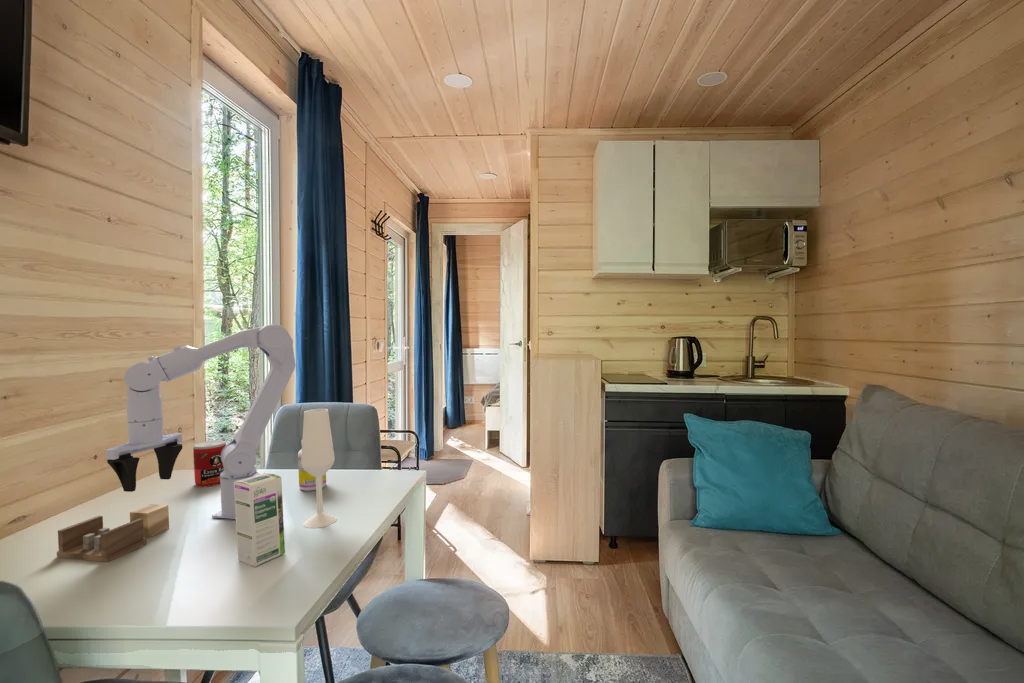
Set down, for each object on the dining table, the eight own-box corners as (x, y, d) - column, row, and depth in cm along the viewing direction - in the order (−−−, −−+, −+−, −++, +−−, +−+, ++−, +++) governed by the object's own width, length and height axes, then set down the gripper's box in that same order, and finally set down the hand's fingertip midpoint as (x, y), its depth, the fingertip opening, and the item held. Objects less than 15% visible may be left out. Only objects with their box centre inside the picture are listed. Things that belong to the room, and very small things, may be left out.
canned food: (201, 489, 123) (199, 448, 123) (190, 483, 128) (188, 444, 128) (232, 481, 129) (230, 442, 129) (220, 476, 134) (219, 439, 134)
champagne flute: (340, 522, 98) (336, 410, 98) (305, 530, 94) (301, 414, 94) (333, 512, 104) (329, 406, 103) (300, 520, 100) (296, 410, 100)
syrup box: (254, 568, 80) (251, 485, 79) (236, 560, 83) (233, 479, 82) (285, 554, 84) (282, 475, 84) (267, 547, 88) (264, 471, 87)
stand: (146, 544, 90) (145, 519, 90) (108, 561, 83) (106, 534, 83) (97, 540, 93) (96, 515, 93) (56, 557, 86) (55, 530, 86)
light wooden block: (169, 528, 98) (168, 505, 98) (148, 537, 93) (147, 513, 93) (152, 527, 99) (151, 504, 99) (130, 536, 94) (129, 512, 94)
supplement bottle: (317, 481, 127) (315, 435, 126) (331, 485, 123) (329, 438, 122) (294, 488, 121) (292, 440, 121) (307, 493, 117) (306, 443, 117)
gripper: (162, 413, 104) (165, 473, 104) (91, 426, 89) (95, 496, 90) (188, 413, 102) (191, 474, 102) (120, 427, 88) (124, 497, 88)
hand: (148, 484), depth 96 cm, fingers open, 7 cm apart
